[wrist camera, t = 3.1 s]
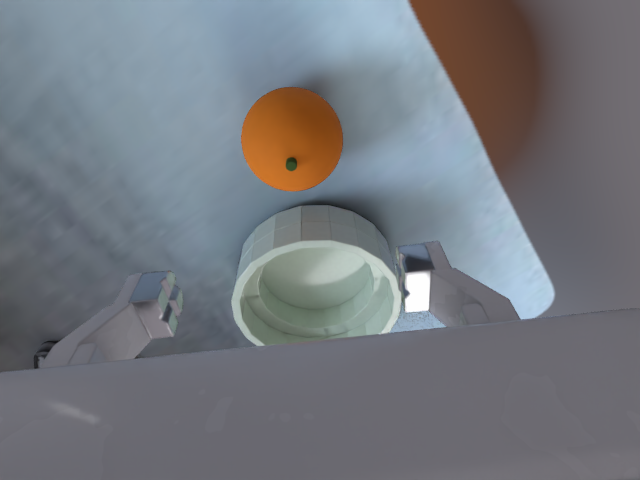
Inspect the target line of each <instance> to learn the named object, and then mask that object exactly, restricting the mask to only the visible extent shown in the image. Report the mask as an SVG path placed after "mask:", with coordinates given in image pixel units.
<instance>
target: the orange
mask: <svg viewBox="0 0 640 480" xmlns="http://www.w3.org/2000/svg"><path fill="white" fill-rule="evenodd" d="M241 143H242V149H243V153H244V157H245V159H246V161H247V163H248V165H249V167H250V168H251V170H252V171H253V172H254V174H255V175H256V176H257V177H258V178H259V179H261V180H262V181H263V182H265V183H266V184H268V185H270V186H272V187H274V188H276V189H280V190H284V191H301V190H306V189H309V188H312V187H314V186H316V185H318V184H319V183H321V182H322V181H324V180H325V179H326V178H327V177H328V176H329V175H330V174H331V172H332V171H333V170H334V169H335V167H336V165H337V163H338V161H339V159H340V156H341V152H342V146H343V133H342V128H341V124H340V121H339V119H338V117H337V114H336V113H335V111H334V110H333V108H332V107H331V106H330V105H329V103H328V102H326V101H325V100H324V99H323V98H322V97H321V96H319V95H318V94H316V93H314V92H312V91H309V90H307V89H303V88H298V87H285V88H279V89H276V90H273V91H271V92H269V93H267V94H265V95H264V96H263V97H261V98H260V99H259V100H258V101H257V102H255V104H254V105H253V106H252V107H251V109H250V110H249V112H248V114H247V116H246V118H245V120H244V123H243V127H242V135H241Z"/></svg>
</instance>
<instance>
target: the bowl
mask: <svg viewBox="0 0 640 480" xmlns="http://www.w3.org/2000/svg"><path fill="white" fill-rule="evenodd" d="M401 302H402V299H401V291H399V288H398V284H397V278H396V271H395V268H394V264H393V260H392V257H391V253H390V250H389V247H388V243H387V241H386V239H385V238H384V237H383V235H382V234H381V233H380V232H379V230H378V229H377V228H376V227H375V225H374V224H373V223H371V222H369V221H368V220H366V219H365V218H363V217H361V216H360V215H358V214H356V213H355V212H353V211H349V210H345V209H342V208H338V207H334V206H330V205H310V206H298V207H295V208H292V209H288V210H285V211H282V212H278V213H276V214H275V215H273V216H272V217H270V218H269V219H267V220H266V221H264V222H263V223H261V224H260V225H258V226H257V227H256V228H255V229H254V231H253V232H252V233H251V235H250V236H249V237H248V239H247V240H246V241H245V243H244V245H243V248H242V252H241V255H240V259H239V263H238V268H237V273H236V278H235V284H234V289H233V294H232V299H231V303H232V309H233V315H234V320H235V322H236V323H237V325H238V326H239V328H240V329H241V331H242V332H243V334H244V335H245V337H246V338H247V339H249V340H250V341H251V342H253V343H254V344H255V345H256V346H266V345H275V344H285V343H295V342H305V341H315V340H325V339H335V338H345V337H354V336H364V335H374V334H384V333H389V332H390V331H391V329H392V327H393V326H394V324H395V322H396V321H397V319H398V317H399V315H400V309H401Z"/></svg>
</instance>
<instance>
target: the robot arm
mask: <svg viewBox="0 0 640 480" xmlns="http://www.w3.org/2000/svg"><path fill="white" fill-rule="evenodd" d="M396 259H397V262H398V263H397V264H396V278H397V284H398V288H399V291H401V299H402V303H403V306H404V310H405V312H417V311H429V312H430V313H431V314H433V315H434V316H435V317H436V318H437V319H438V320H439V321H441V322H442V323H443V324H444V325H445V326H446V327H443V328H434V329H424V330H414V331H404V332H394V333H384V334H374V335H364V336H354V337H345V338H335V339H325V340H315V341H305V342H295V343H285V344H275V345H266V346H256V347H246V348H236V349H226V350H216V351H206V352H196V353H186V354H176V355H167V356H157V357H147V358H137V359H134V358H135V357H136V356H137V355H138V354H139V353H140V351H141V350H142V349H143V348H144V347H145V346H146V345H147V344H148V343H149V342H150V341H151V339H156V338H164V337H171V336H174V334H175V331H176V328H177V325H178V320H177V318H176V317H178V316H179V315H180V314H181V313H182V309H183V295H182V292H181V289H180V288H179V287H178V286H176V285H175V281H176V277H175V275H174V273H173V272H172V271H160V272H149V273H139V274H131V275H129V276H128V277H127V279H126V281H125V283H124V285H123V287H122V288H121V290H120V292H119V294H118V296H117V298H116V300H115V302H114V304H113V305H109V306H107V307H106V308H104V309H103V310H102V311H100V312H99V313H98V314H96V315H95V316H93V317H92V318H91V319H89V320H88V321H87V322H85V323H84V324H82V325H81V326H80V327H78V328H77V329H76V330H74V331H73V332H71V333H70V334H69V335H67V336H66V337H65V338H63V339H62V340H60V341H59V342H58V343H56V344H55V345H54V346H53V347H52V348H51V350H50V352H49V353H48V355H47V357H46V358H45V360H44V362H43V363H42V365H41V366H40V368H38V369H28V370H18V371H8V372H0V480H640V309H637V308H631V309H620V310H610V311H600V312H591V313H581V314H572V315H562V316H553V317H542V318H532V319H522V320H521V319H520V318H519V316H518V314H517V312H516V311H515V309H514V307H513V305H512V304H511V302H510V300H509V299H508V298H506V297H504V296H503V295H501V294H499V293H497V292H496V291H494V290H492V289H490V288H489V287H487V286H485V285H484V284H482V283H480V282H478V281H477V280H475V279H473V278H471V277H470V276H468V275H466V274H465V273H463V272H461V271H459V270H458V269H456V268H454V269H452V268H451V266H450V264H449V262H448V260H447V257H446V255H445V253H444V251H443V249H442V246H441V244H440V242H439V241H432V242H425V243H421V244H412V245H403V246H396Z"/></svg>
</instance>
